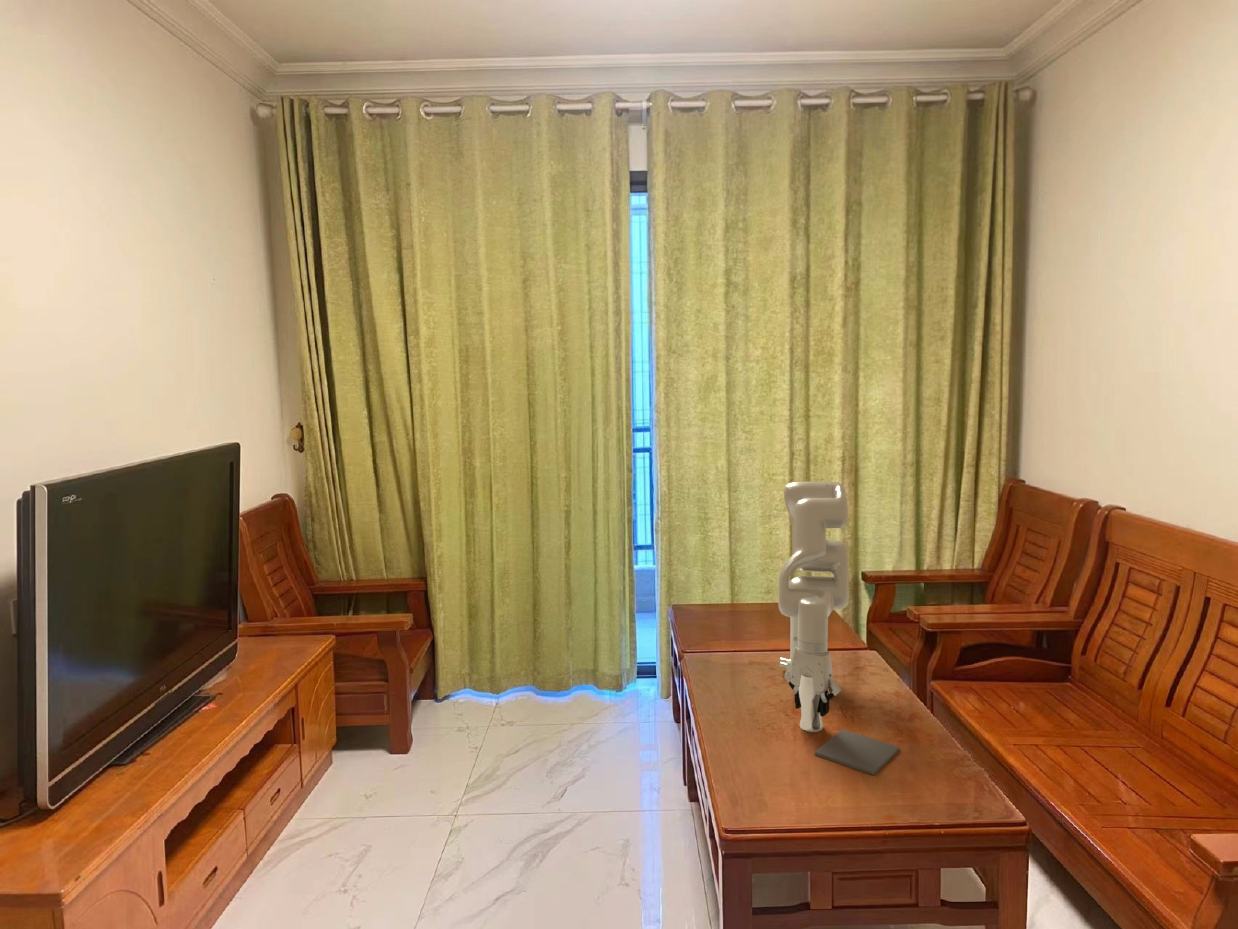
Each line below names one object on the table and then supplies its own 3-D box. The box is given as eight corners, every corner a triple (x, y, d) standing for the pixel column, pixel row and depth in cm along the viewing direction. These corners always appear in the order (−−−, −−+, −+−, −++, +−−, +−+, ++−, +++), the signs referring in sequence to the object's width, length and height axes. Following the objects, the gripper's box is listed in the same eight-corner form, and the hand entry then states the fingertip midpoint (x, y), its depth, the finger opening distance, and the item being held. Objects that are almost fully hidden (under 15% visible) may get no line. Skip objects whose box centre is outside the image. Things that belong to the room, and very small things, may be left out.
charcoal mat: (815, 754, 190) (815, 751, 190) (842, 732, 202) (842, 729, 201) (874, 775, 181) (874, 772, 180) (899, 750, 192) (899, 747, 192)
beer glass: (806, 735, 200) (806, 679, 198) (793, 723, 207) (793, 669, 205) (830, 731, 202) (831, 676, 200) (816, 719, 209) (817, 666, 207)
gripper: (775, 642, 204) (775, 706, 207) (836, 657, 193) (835, 725, 195) (789, 634, 210) (789, 697, 212) (850, 648, 199) (849, 715, 201)
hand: (811, 710), depth 204 cm, fingers closed on beer glass, 6 cm apart
